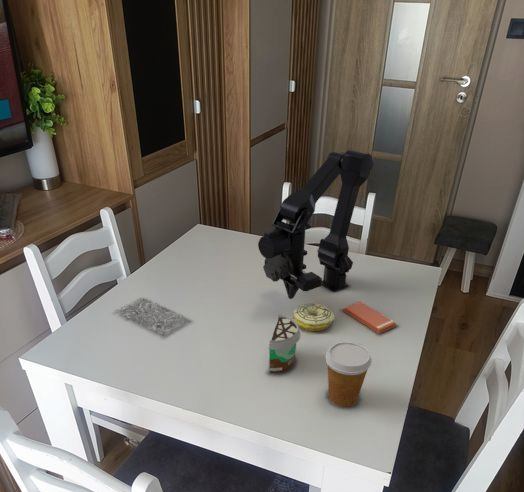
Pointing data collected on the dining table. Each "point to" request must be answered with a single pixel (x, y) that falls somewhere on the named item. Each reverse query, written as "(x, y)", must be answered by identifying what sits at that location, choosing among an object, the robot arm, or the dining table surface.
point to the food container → (283, 344)
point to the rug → (152, 316)
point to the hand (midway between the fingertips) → (290, 298)
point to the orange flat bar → (369, 317)
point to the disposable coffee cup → (346, 372)
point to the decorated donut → (313, 317)
